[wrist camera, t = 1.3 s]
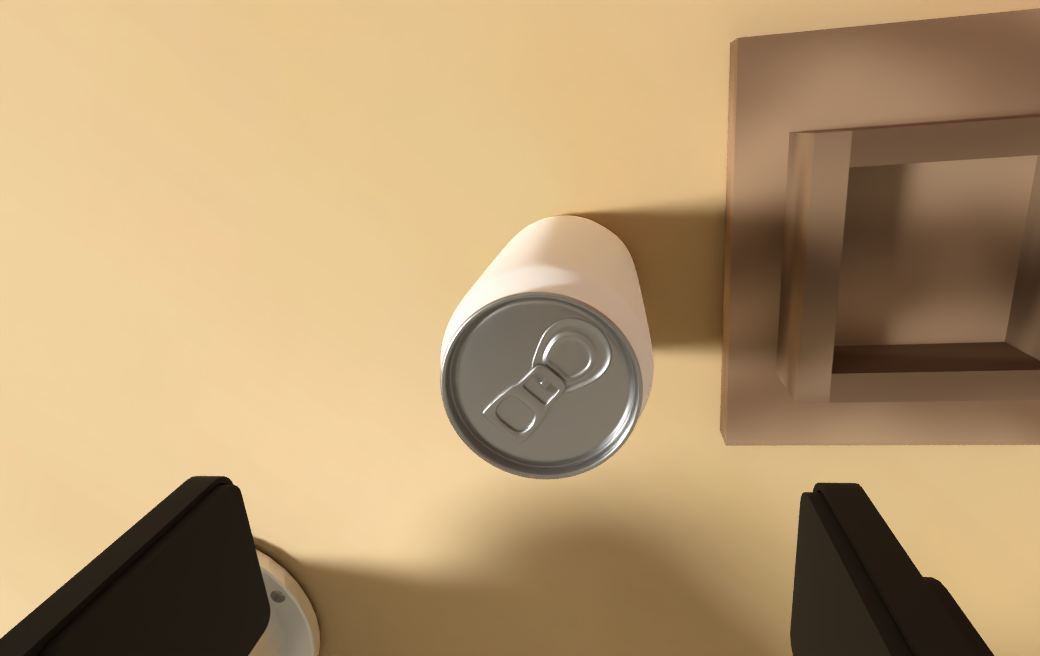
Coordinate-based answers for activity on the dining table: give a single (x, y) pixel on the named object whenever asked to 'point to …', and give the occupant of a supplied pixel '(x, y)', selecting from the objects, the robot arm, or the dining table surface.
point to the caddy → (884, 235)
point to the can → (549, 352)
